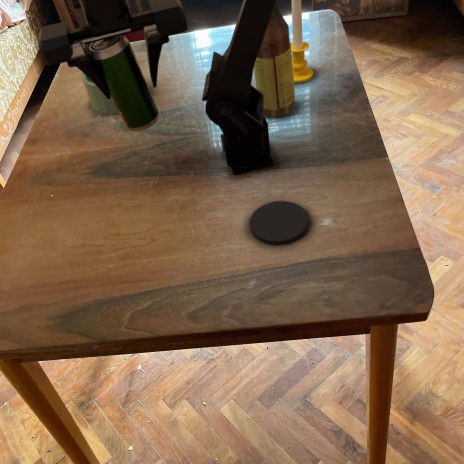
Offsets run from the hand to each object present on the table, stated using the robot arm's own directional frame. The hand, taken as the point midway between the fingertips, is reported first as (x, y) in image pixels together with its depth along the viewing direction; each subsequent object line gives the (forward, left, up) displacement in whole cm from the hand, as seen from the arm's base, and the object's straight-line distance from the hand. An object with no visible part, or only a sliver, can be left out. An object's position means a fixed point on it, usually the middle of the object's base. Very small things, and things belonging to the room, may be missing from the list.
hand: (132, 92), depth 73 cm
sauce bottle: (-23, -8, -13) cm, 27 cm away
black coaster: (-15, +20, -13) cm, 28 cm away
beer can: (0, 0, -5) cm, 5 cm away
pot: (+3, -25, -13) cm, 28 cm away
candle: (-30, -17, -13) cm, 36 cm away
